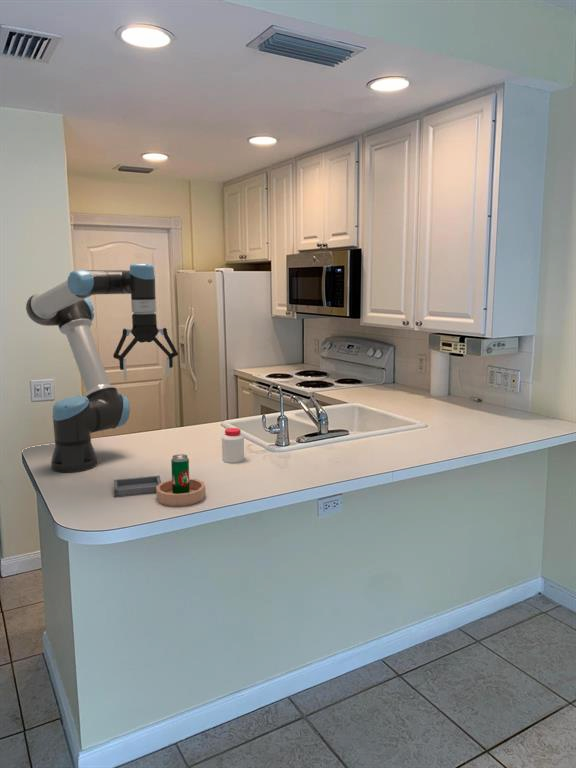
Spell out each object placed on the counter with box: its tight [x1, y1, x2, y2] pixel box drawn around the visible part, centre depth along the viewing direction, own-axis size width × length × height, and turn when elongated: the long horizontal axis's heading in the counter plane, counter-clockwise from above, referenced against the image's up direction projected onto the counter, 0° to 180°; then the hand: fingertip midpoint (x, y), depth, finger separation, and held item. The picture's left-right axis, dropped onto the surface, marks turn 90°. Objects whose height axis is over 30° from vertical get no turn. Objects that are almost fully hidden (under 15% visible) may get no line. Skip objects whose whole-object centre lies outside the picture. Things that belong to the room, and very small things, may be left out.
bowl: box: [155, 478, 207, 507], centre depth 176 cm, size 14×14×3 cm
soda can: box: [170, 453, 190, 494], centre depth 175 cm, size 5×5×12 cm
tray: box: [113, 475, 162, 498], centre depth 183 cm, size 14×10×2 cm
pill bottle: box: [221, 427, 245, 464], centre depth 212 cm, size 8×8×11 cm
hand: (147, 378), depth 193 cm, fingers open, 13 cm apart
